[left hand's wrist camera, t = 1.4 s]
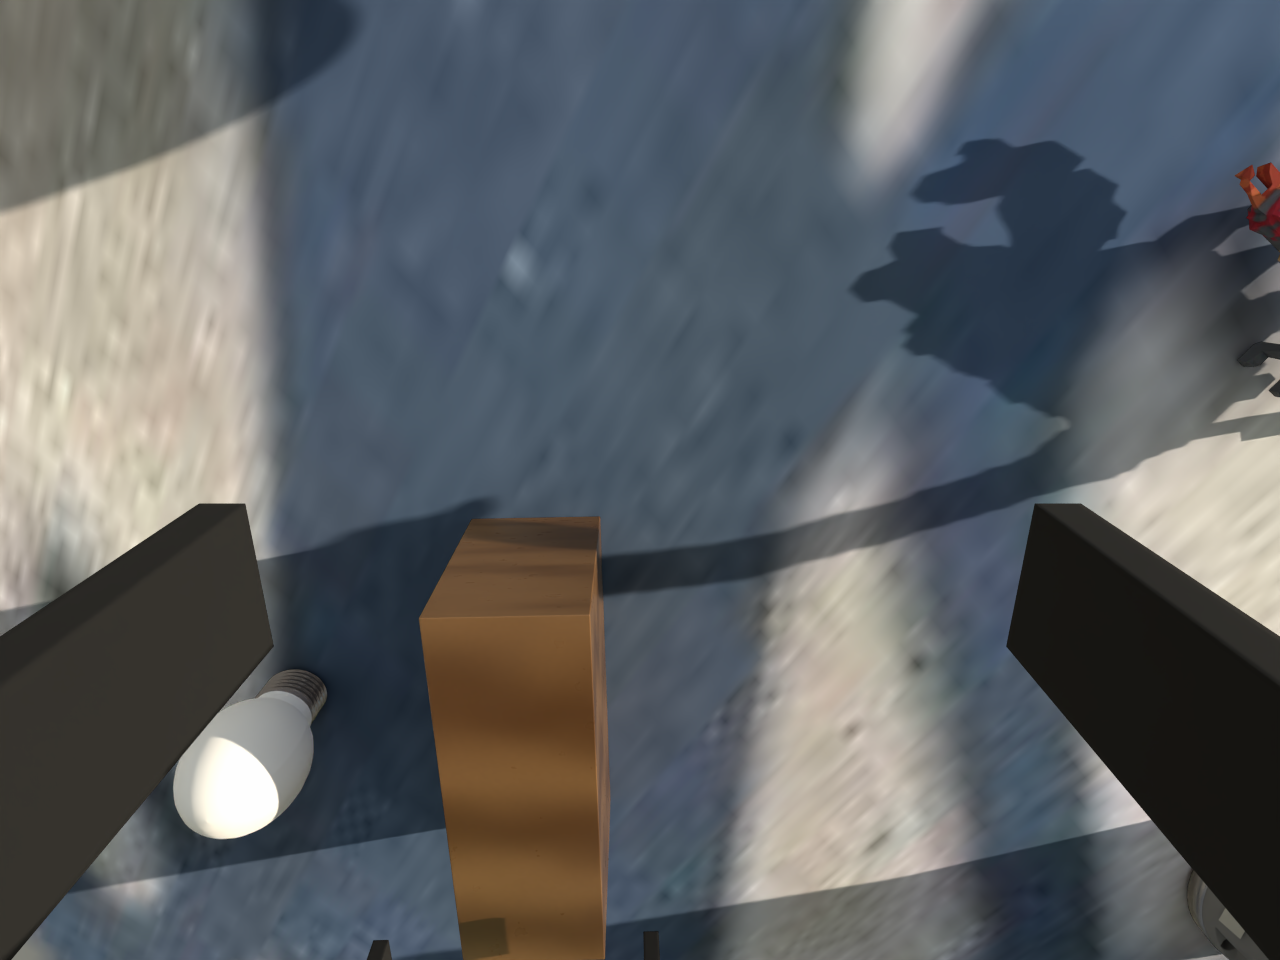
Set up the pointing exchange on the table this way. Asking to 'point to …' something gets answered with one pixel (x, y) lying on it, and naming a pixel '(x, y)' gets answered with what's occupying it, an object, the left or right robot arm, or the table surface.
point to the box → (523, 736)
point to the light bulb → (250, 759)
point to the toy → (1276, 220)
